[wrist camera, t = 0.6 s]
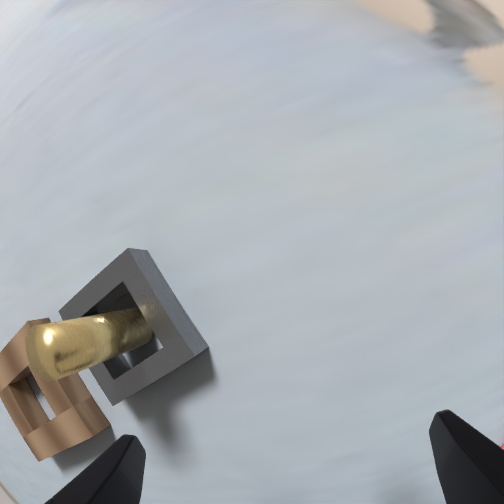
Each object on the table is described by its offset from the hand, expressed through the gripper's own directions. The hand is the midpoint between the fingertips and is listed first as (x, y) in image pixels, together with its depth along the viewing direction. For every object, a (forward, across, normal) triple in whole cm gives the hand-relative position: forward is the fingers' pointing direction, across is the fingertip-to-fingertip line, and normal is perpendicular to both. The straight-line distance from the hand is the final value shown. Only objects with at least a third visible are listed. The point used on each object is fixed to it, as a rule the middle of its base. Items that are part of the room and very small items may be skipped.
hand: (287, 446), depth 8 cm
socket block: (+15, +12, +5) cm, 20 cm away
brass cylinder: (+15, +12, +5) cm, 20 cm away
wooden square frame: (+13, +25, +13) cm, 31 cm away
